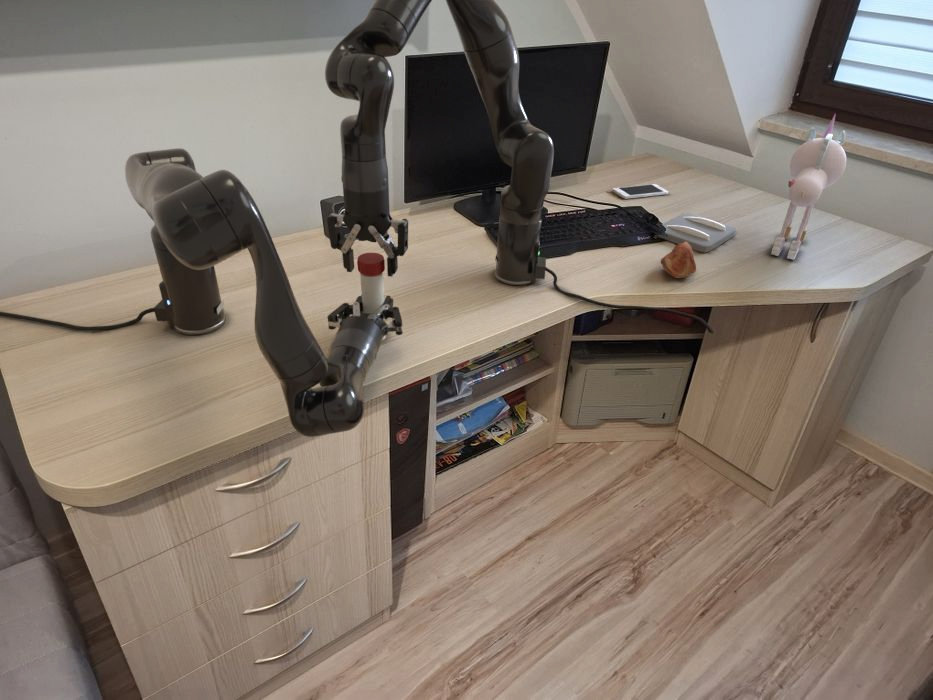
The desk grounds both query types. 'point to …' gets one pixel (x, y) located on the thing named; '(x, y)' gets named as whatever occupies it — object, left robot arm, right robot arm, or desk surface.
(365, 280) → the jar
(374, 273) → the lid
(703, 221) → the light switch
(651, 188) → the smartphone
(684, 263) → the fossil
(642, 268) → the desk surface
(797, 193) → the toy
